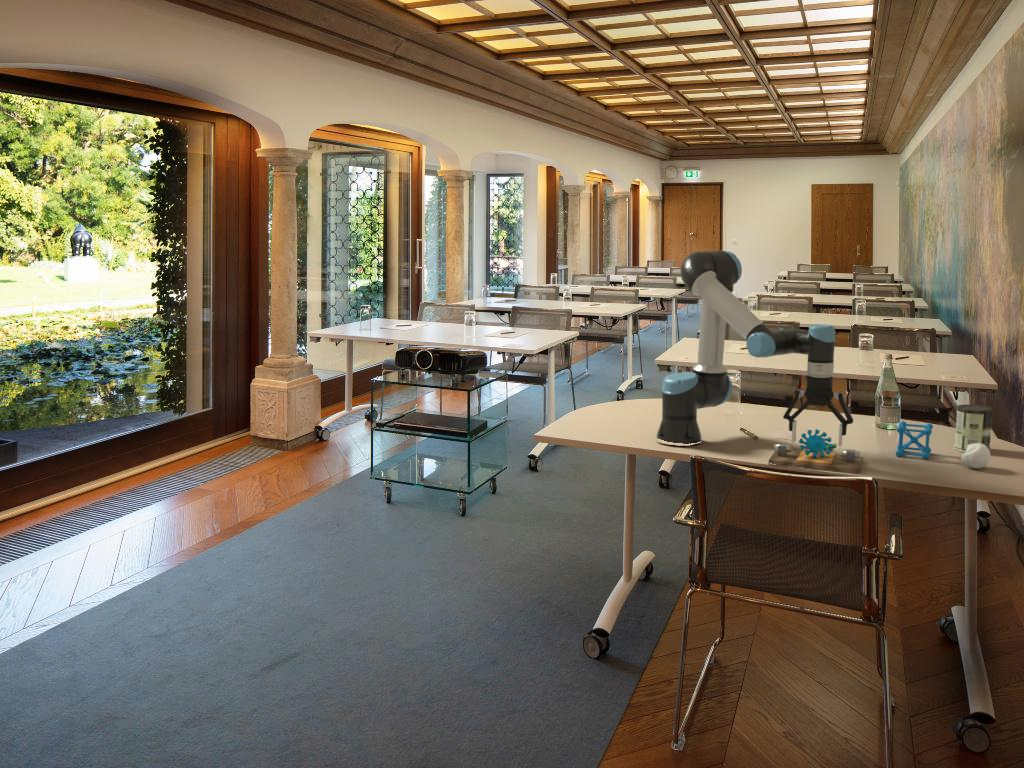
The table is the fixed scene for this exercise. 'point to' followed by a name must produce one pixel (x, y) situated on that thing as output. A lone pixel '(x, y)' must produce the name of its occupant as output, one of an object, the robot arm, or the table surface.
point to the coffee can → (973, 426)
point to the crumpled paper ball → (976, 456)
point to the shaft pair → (847, 453)
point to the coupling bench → (817, 461)
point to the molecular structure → (914, 439)
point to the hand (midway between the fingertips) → (816, 443)
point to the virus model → (816, 443)
